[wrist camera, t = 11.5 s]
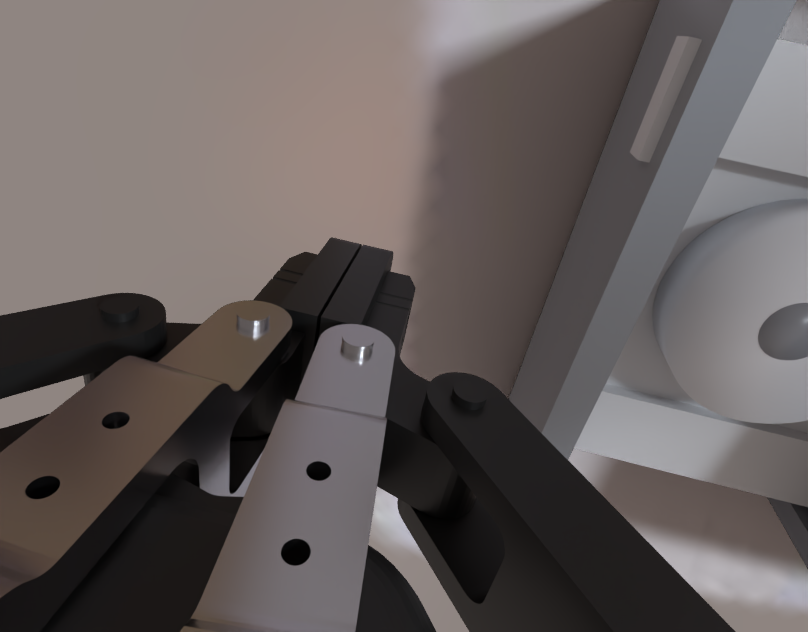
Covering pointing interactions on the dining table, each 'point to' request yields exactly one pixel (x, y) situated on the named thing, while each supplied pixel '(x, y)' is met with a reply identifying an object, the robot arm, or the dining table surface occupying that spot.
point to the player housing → (794, 524)
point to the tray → (672, 247)
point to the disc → (741, 315)
